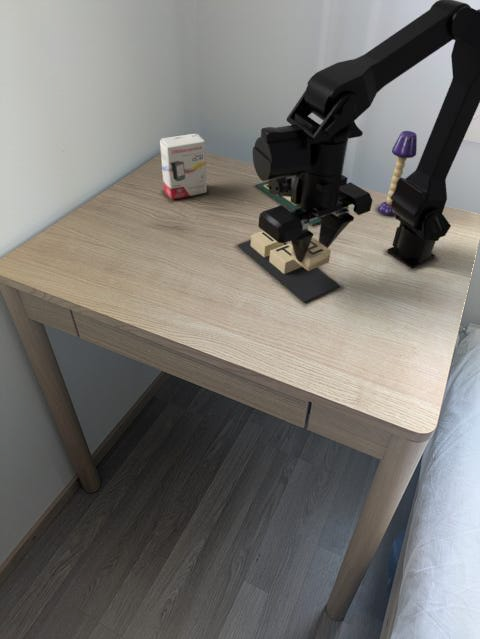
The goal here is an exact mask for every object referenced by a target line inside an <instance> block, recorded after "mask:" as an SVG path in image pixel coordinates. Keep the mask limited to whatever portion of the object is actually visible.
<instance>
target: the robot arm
mask: <svg viewBox="0 0 480 639" xmlns="http://www.w3.org/2000/svg"><path fill="white" fill-rule="evenodd" d="M453 40H454V43H453V47H452V51H451V54H450V58H451V71H452V72H451V73H452V79H451V82H450V84H449V87H448V89H447V91H446V95H445V97H444V99H443V102H442V105H441V106H440V109H439V112H438V115H437V117H436V120H435V122H434V124H433V126H432V129H431V132H430V134H429V137H428V139H427V142H426V144H425V147H424V149H423V151H422V155H421V157H420V158H419V161H418V164H417V167H416V169H415V170H414V171H413V172H412V173H410V174H409V175H408V176H406V177H405V178H404V177H401V178H400V179H399V180H398V182H397V186H396V189H395V191H394V193H393V195H392V196H391V198H390V199H392V204H391V207H392V208H393V211H394V213H395V215H394V218H395V219H396V220H398V221H399V226H397V227H396V230H395V233H394V237H393V241H392V246H391V247H389V248H388V249H387V250H386V253H387V254H389V255H390V256H392V257H393V258H394V259H396V260H398V261H399V262H401V263H403V264H404V265H405V266H407V267H409V268H410V269H415V268H417V267H419V266H421V265H424V264H426V263H428V262H430V261H433V260H434V259H435V258H436V255H435V254H434V253H433V250H434V247H435V245H436V242H438V241H439V240H440V239H441V238H443V237H445V236H446V235H447V233H448V232H449V230H450V228H451V226H452V225H451V223H449V221H448V220H447V218H446V217H445V216H444V214H443V213H444V210H445V207H446V203H447V200H448V194H447V193H448V192H447V177H448V174H449V172H450V170H451V168H452V165H453V163H454V161H455V159H456V157H457V155H458V152H459V150H460V148H461V146H462V143H463V141H464V139H465V136H466V134H467V132H468V131H469V128H470V126H471V124H472V121H473V118H474V116H475V114H476V111H477V110H478V107H479V106H480V9H475V8H473V7H471V5H469V4H468V3H466V2H462V1H459V0H436V1H435V2H434V3H433V4H432V5H431V7H430V8H429V9H428V10H427V11H426V12H424V13H423V14H420V15H419V16H418V17H417V18H415V19H414V20H412V21H411V22H410V23H408V24H406V25H405V26H403V27H402V28H400V29H399V30H398V31H396V32H395V33H394V34H392V35H390V36H389V37H387V38H386V39H384V40H383V41H382V42H380V43H379V44H377V45H376V46H375V47H373V48H371V49H370V50H369V51H367V52H365V53H364V54H363V55H360V56H358V57H355V58H352V59H347V60H343V61H338V62H336V63H334V64H331V65H330V66H327V67H325V68H322V69H320V70H318V71H317V72H315V73H314V75H312V76H311V77H310V78H309V79H308V81H307V84H306V85H307V86H306V88H305V91H304V92H303V93H302V95H301V97H300V98H299V99H298V101H297V102H296V104H295V106H294V107H293V108H292V110H291V111H290V112H289V114H288V116H287V117H286V122H287V123H288V124H290V125H284V126H276V127H273V126H267V127H262V128H261V129H260V136H259V137H258V138H256V140H255V143H254V146H253V147H252V162H253V166H254V167H253V168H254V170H255V172H256V175H257V177H258V178H259V179H260V180H261V181H262V182H267V181H268V187H269V192H270V193H271V194H274V195H278V196H279V197H282V196H287V197H291V202H292V203H294V204H295V205H296V204H299V205H300V206H299V208H298V209H295V211H293V212H292V211H291V210H289V209H288V208H286V207H285V206H283V205H282V204H280V205H278V206H274V207H271V208H269V209H266V210H263V211H262V212H260V213H259V216H258V228H259V229H260V230H261V231H264V232H266V233H267V234H268V235H269V236H271V237H272V238H273V239H275V240H276V241H277V242H278V243H285V244H287V243H289V242H291V245H292V246H293V249H294V252H295V256H296V259H297V260H298V261H299V262H302V261H303V259H304V257H305V255H306V252H307V250H308V247H309V245H310V242H311V240H312V238H314V233H313V232H312V231H311V230H309V225H310V224H309V221H312V220H315V219H317V218H320V217H321V223H320V227H319V228H320V229H319V236H318V241H319V242H320V243H321V244H323V245H324V246H325V247H327V248H328V249H329V248H330V247H331V245H332V244H333V243H334V241H335V240H336V239H337V238H338V236H340V234H341V233H342V232H343V231H344V230H345V229H346V228H347V226H348V225H349V224H350V223H351V222H353V221H354V220H355V217H354V216H353V215H352V214H351V213H349V212H350V210H349V206H351V205H353V209H352V210H353V212H354V213H355V214H356V215H357V216H361V215H363V214H366V213H368V212H371V209H372V205H373V198H372V196H371V193H370V192H368V191H366V190H365V189H363V188H361V187H360V186H357V185H356V184H354V183H353V182H351V181H350V182H348V177H346V176H345V175H344V174H343V171H344V165H345V160H346V154H347V149H348V142H349V139H355V138H359V137H362V136H363V134H364V132H363V131H362V129H360V128H359V126H358V125H357V124H356V122H355V121H356V120H357V119H358V118H359V117H360V116H361V115H363V114H364V113H365V112H366V111H367V110H368V109H369V108H370V107H371V106H372V104H373V102H374V100H375V98H376V96H377V94H378V93H379V92H380V91H381V90H382V89H383V88H384V87H386V86H387V85H388V84H390V83H391V82H393V81H394V80H396V79H398V78H399V77H401V76H402V75H403V74H405V73H406V72H408V71H409V70H411V69H413V67H415V66H417V65H418V64H419V63H421V62H422V61H424V60H425V59H426V58H428V57H430V56H431V55H433V54H434V53H435V52H437V51H438V50H440V49H441V48H443V47H445V46H446V45H447V44H448V43H450V42H451V41H453ZM311 114H313V115H315V116H316V117H318V118H319V119H320V120H322V122H321V123H318V122H316V121H315V120H314V119H312V117H310V115H311Z"/></svg>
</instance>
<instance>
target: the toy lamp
mask: <svg viewBox="0 0 480 639" xmlns="http://www.w3.org/2000/svg"><path fill="white" fill-rule="evenodd" d="M417 144H418V135H417V133H416V132H414V131H411V130H403V131H401V132H400V133H399V136H398V137H397V138H396V140H395V143H394V145H393V147H392V149H391V153H392V154H393V155H394V156H396V159H397V161H396V162H395V165H394V166H395V168H394V170H393V175H392V176H391V183H390V185H389V190H388V192H387V198H386V201H383V202H381V203H380V204H379V206H378V208H377V211H378V212H379V213H380V214H381V215H384V216H389V217H391V216H393V217H394V216H395V213H394V211H393V208H392V207H391V204H392V199H390V198H391V196H392V195H393V193H394V191H395V189H396V186H397V182H398V180H399V179H400V178H402V175H403V174H404V173H403V172H404V168H405V166H406V161H407V159H412V158H414V157H416V155H417V150H418V148H417V147H418V145H417Z"/></svg>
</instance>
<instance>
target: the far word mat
mask: <svg viewBox="0 0 480 639" xmlns="http://www.w3.org/2000/svg"><path fill="white" fill-rule="evenodd" d="M268 181H269V180H267V181H263V182H261V183H258V184H255V187H256V188H257V189H259V190H260V191H262V192H263V193H265V194H266V195H267V196H269V197H271V199H273V200H274V201H276V202H278V203H279V204H280V205H282V206H283V207H285V208H286V209H288V210H289V211H291V212H293V211H295V209H298V208H299V206H300V205H299V204H296V205H295V204H294V203H292V202H291V197H287V196H282V197H279V196H278V195H274V194H271V193H270V192H269V187H268ZM319 224H321V217H320V218H317V219H315V220H312V221H309V225H311V227H314V226H316V225H319Z"/></svg>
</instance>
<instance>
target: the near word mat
mask: <svg viewBox="0 0 480 639" xmlns="http://www.w3.org/2000/svg"><path fill="white" fill-rule="evenodd" d="M237 247H238V248H239V249H240V250H241V251H243V252H244V253H245V254H246V255H247V256H249V257H250V258H251V259H252V260H253V261H254V262H255V263H257V264H258V265H259V266H260V267H261V268H262V269H264V270H265V271H266V272H267V273H268V274H270V276H272V277H273V278H274V279H275V280H276V281H278V282H279V283H280V284H281V286H283V287H284V288H286V289H287V290H288V291H289V292H290V293H291V294H293V295H294V297H296V298H297V299H298V300H299V301H301V302H302V303H303V304H307V303H308V302H310V301H312V300H314V299H315V300H316V299H317V298H319V297H321V296H323V295H325V294H328V293H330V292H333V291H335V290H337V289H339V288H340V287H341V285H340V284H339V283H338V282H336V281H335V280H333V279H332V278H331V277H329V276H328V275H327V274H326V273H324V271H322V270H321V269H319V267H317V268H315V269H312V270H310V271H307V270H306V269H305V268H304V267H302V266H301V265H300V264H299V263H297V262H296V261H295V260H294V259H292V258H291V256H292V247H293V246H292V243H289V242H288V243H278V242H277V241H276V240H275V239H273V238H272V237H271V236H269V235H268V234H267V233H266V232H264V231H263V230H261V231H258V232H255V233H253V234H252V233H251V234H250V240H247V241H244V242H241V243H239V244H237Z"/></svg>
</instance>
